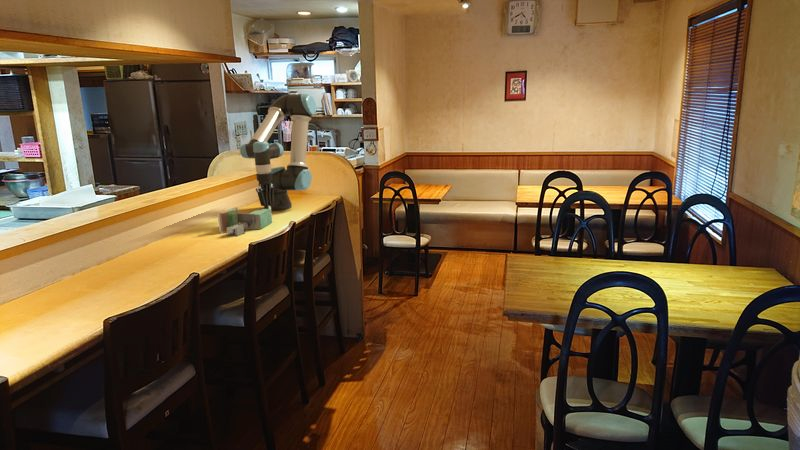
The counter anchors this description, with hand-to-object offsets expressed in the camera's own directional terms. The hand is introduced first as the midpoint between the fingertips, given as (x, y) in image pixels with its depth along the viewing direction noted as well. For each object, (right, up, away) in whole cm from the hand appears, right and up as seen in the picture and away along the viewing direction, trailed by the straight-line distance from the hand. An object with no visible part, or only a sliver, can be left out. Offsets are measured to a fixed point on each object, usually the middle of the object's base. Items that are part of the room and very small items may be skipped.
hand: (268, 218), depth 272 cm
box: (-2, -4, -8) cm, 9 cm away
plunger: (-10, -6, -20) cm, 23 cm away
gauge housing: (-11, -7, -17) cm, 21 cm away
